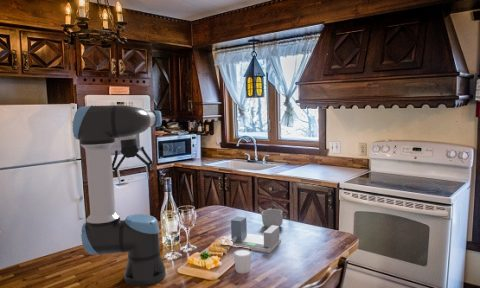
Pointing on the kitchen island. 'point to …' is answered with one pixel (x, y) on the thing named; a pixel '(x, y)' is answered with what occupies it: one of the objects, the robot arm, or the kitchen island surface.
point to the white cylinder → (242, 260)
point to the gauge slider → (238, 228)
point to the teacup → (272, 217)
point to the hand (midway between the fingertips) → (134, 181)
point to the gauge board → (261, 240)
